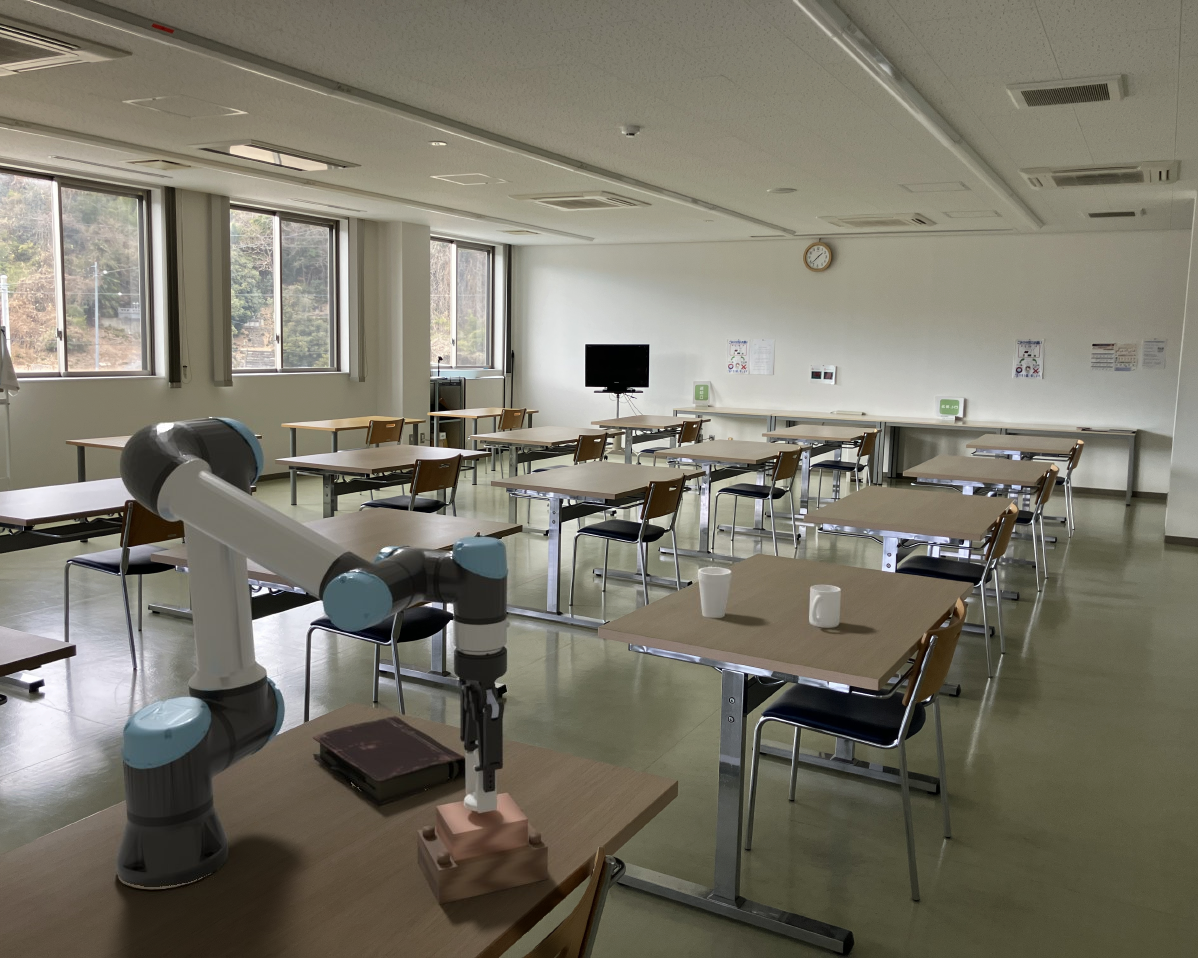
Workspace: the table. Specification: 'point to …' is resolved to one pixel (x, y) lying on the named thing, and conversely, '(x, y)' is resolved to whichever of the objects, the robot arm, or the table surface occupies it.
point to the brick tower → (480, 850)
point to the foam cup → (714, 590)
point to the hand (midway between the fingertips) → (480, 801)
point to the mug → (824, 606)
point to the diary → (387, 759)
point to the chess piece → (471, 798)
